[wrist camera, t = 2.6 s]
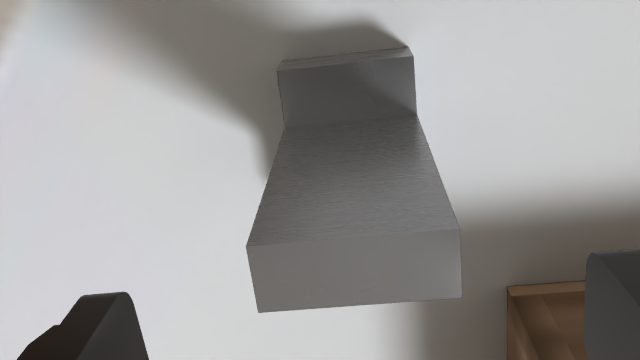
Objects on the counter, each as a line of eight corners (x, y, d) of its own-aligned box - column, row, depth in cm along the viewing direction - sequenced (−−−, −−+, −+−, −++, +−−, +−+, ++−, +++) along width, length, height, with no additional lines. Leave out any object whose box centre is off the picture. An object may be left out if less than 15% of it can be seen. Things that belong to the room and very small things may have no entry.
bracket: (282, 60, 19) (229, 160, 11) (408, 47, 19) (456, 138, 10) (302, 203, 21) (271, 382, 13) (417, 193, 20) (464, 370, 12)
